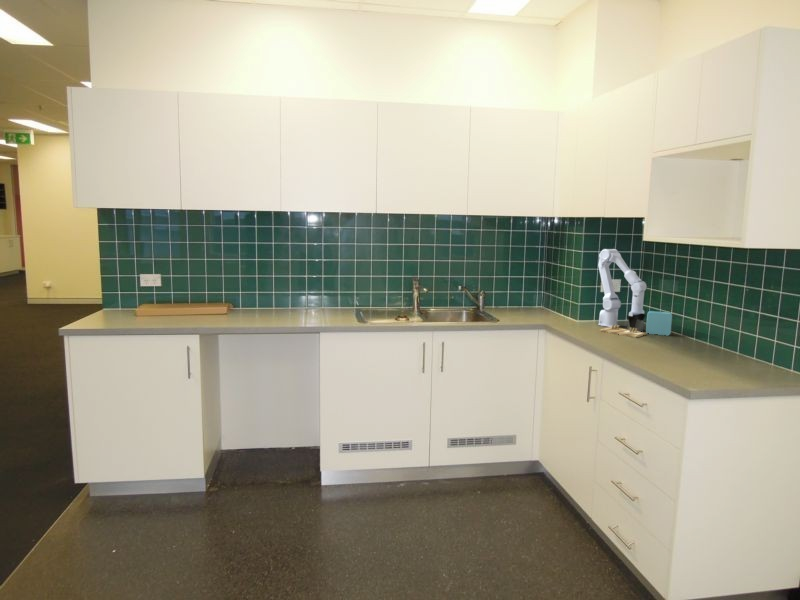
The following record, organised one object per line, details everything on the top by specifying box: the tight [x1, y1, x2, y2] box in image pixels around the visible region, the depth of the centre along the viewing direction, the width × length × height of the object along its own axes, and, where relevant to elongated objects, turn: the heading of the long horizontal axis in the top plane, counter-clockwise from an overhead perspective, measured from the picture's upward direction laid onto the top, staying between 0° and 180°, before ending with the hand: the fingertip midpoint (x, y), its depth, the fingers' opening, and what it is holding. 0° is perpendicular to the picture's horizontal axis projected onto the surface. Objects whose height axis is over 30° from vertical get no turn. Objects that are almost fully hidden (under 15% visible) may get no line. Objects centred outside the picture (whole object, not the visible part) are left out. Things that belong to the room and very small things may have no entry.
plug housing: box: [626, 319, 645, 332], centre depth 300 cm, size 7×4×6 cm, turn 42°
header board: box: [599, 324, 648, 338], centre depth 293 cm, size 20×13×3 cm, turn 42°
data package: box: [645, 310, 673, 337], centre depth 292 cm, size 12×4×12 cm, turn 66°
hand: (635, 327), depth 301 cm, fingers open, 7 cm apart
